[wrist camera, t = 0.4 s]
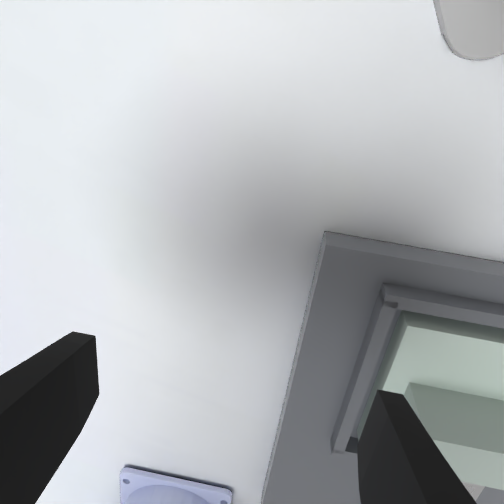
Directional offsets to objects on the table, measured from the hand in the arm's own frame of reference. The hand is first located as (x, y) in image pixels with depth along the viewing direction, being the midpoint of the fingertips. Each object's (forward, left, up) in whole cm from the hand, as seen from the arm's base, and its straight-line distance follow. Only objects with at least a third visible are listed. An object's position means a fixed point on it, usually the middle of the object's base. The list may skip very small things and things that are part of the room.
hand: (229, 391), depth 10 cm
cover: (-6, -11, -8) cm, 15 cm away
